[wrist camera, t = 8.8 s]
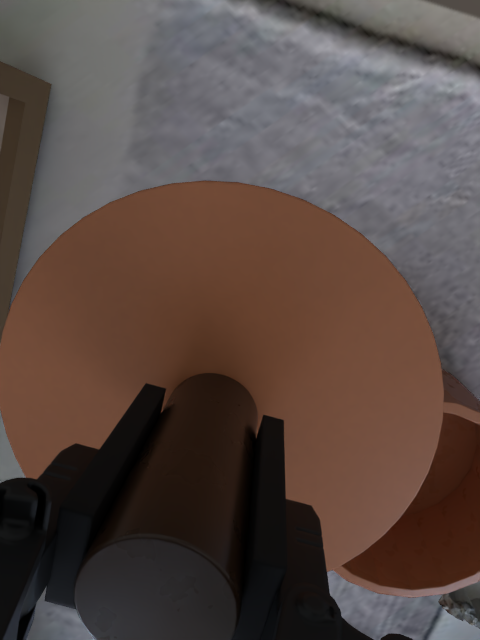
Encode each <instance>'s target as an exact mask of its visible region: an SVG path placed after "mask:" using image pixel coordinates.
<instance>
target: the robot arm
mask: <svg viewBox="0 0 480 640" xmlns="http://www.w3.org/2000/svg"><path fill="white" fill-rule="evenodd" d="M165 392H166V388H163V387H159V386H155V385H152V384H148V383H146V384H145V385H144V386H143V388H142V389H141V391H140V392H139V394H138V395H137V396H136V398H135V399H134V401H133V402H132V404H131V405H130V406H129V408H128V409H127V411H126V412H125V414H124V415H123V416H122V418H121V419H120V421H119V422H118V424H117V425H116V426H115V428H114V429H113V431H112V432H111V434H110V435H109V436H108V438H107V439H106V441H105V442H104V444H103V445H102V446H101V448H100V449H96V448H92V447H88V446H85V445H81V444H77V443H75V444H73V445H71V446H69V447H67V448H66V449H64V450H62V451H60V453H59V454H58V455H57V456H56V457H55V459H54V460H53V461H52V462H51V464H49V466H48V467H47V468H46V469H45V470H44V472H43V474H41V475H40V476H39V477H38V479H33V478H14V479H10V480H6V481H4V482H2V483H0V640H26V639H27V636H28V633H29V631H30V628H31V625H32V622H33V620H34V614H35V607H36V603H37V601H38V599H39V598H40V596H41V594H42V593H43V591H44V589H45V588H46V586H47V588H46V594H45V601H47V602H51V603H54V604H58V605H62V606H65V607H69V608H73V609H76V607H75V602H74V581H75V577H76V574H77V571H78V569H79V567H80V565H81V563H82V561H83V559H84V557H85V555H86V553H87V551H88V550H89V548H90V546H91V544H92V542H93V540H94V538H95V536H96V535H97V533H98V531H99V529H100V527H101V525H102V523H103V521H104V519H105V518H106V516H107V514H108V512H109V510H110V508H111V506H112V504H113V503H114V501H115V499H116V497H117V495H118V493H119V491H120V489H121V488H122V486H123V484H124V482H125V480H126V478H127V476H128V474H129V473H130V471H131V469H132V467H133V465H134V463H135V461H136V459H137V458H138V456H139V454H140V452H141V450H142V448H143V446H144V444H145V443H146V441H147V439H148V437H149V435H150V433H151V431H152V429H153V428H154V426H155V424H156V422H157V420H158V418H159V416H160V414H161V410H162V405H163V401H164V397H165ZM231 640H373V639H372V638H370V637H368V636H367V635H365V634H363V633H361V632H360V631H358V630H357V629H355V628H354V627H352V626H351V625H350V624H348V623H347V622H346V621H345V620H344V619H343V618H342V617H341V611H340V609H339V607H338V605H337V603H336V602H335V600H334V599H333V598H332V597H331V596H330V593H329V585H328V577H327V569H326V562H325V554H324V549H323V538H322V530H321V523H320V519H319V517H318V515H317V514H316V512H315V510H314V509H313V507H312V506H311V505H308V504H304V503H300V502H297V501H293V500H289V499H286V489H285V448H284V420H282V419H278V418H275V417H271V416H267V415H263V417H262V421H261V424H260V427H259V431H258V434H257V437H256V444H255V455H254V466H253V477H252V488H251V500H250V511H249V522H248V533H247V544H246V555H245V566H244V577H243V589H242V601H241V612H240V619H239V624H238V627H237V629H236V631H235V634H234V635H233V637H232V638H231ZM381 640H413V639H411V638H409V637H406V636H404V635H401V634H387V635H386V636H384V637H382V638H381Z"/></svg>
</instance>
